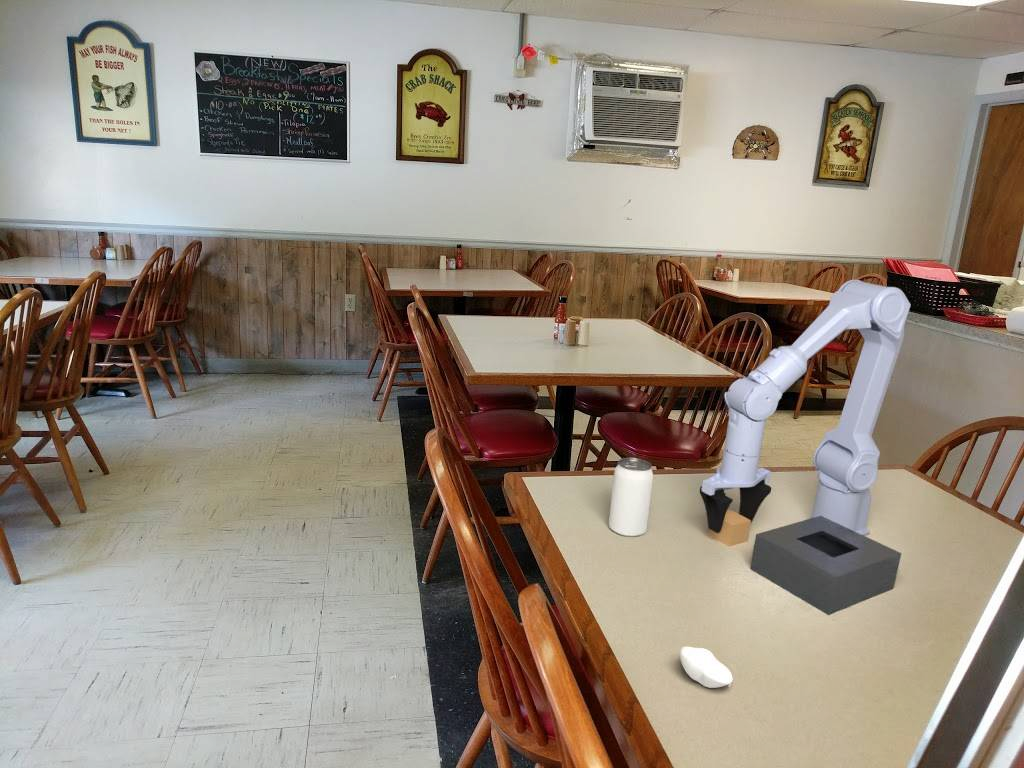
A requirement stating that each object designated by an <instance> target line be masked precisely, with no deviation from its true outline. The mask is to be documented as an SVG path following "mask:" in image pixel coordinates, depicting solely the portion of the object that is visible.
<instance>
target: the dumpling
mask: <svg viewBox="0 0 1024 768" xmlns="http://www.w3.org/2000/svg"><path fill="white" fill-rule="evenodd" d="M679 656H680V657H679V659H680V663H681V665H682V667H683V669H684V671H685V672H686V674H687V675H688V676H689V677H690V678H691V679H692V680H693V681H695V682H698V683H699V684H700V685H702V686H703V687H705V688H709V689H714V688H716V689H717V688H721V687H725V686H728V688H730V686H731V684H732V683H733V681H734V680H733V675H732V672H731V671H730V669H729V668H728V667H727V666H725V664H723V663H721V662H720V661H719V660H718V659H717V658H716V657H715V655H714V654H713V653H712V652H711V651H710V650H709V649H706V648H703V647H693V646H688V645H687V646H682V647H681V648H680V652H679Z"/></svg>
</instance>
